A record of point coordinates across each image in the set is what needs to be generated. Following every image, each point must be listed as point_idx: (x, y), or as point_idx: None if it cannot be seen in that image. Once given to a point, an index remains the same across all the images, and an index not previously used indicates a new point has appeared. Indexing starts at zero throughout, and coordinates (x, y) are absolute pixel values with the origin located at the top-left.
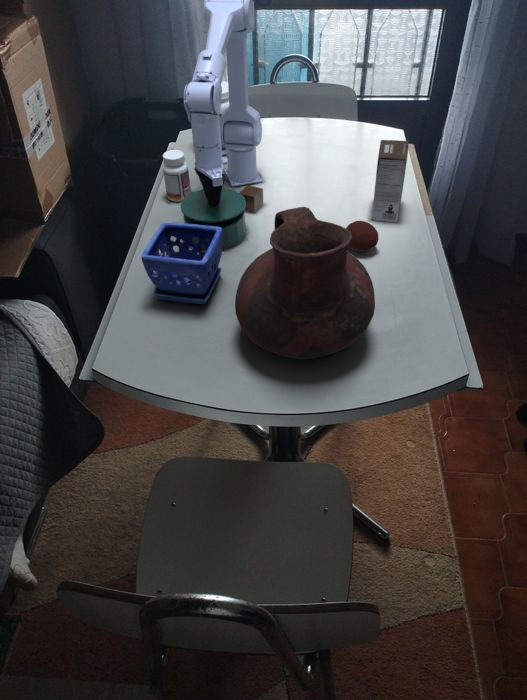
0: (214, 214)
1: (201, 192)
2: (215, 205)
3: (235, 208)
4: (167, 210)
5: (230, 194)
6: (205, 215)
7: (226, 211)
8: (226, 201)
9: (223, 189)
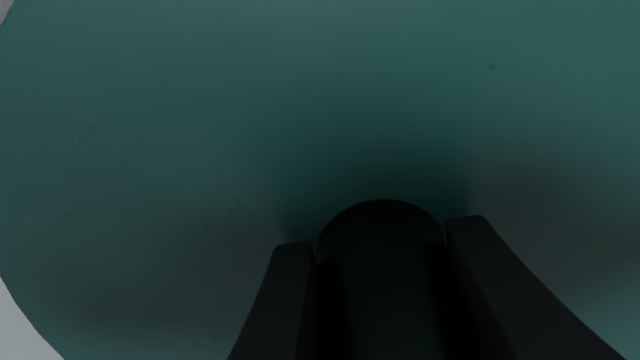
0: (627, 246)
1: (112, 335)
2: (443, 232)
3: (610, 2)
4: (19, 331)
5: (173, 37)
6: (602, 317)
7: (627, 124)
8: (373, 107)
9: (24, 121)
